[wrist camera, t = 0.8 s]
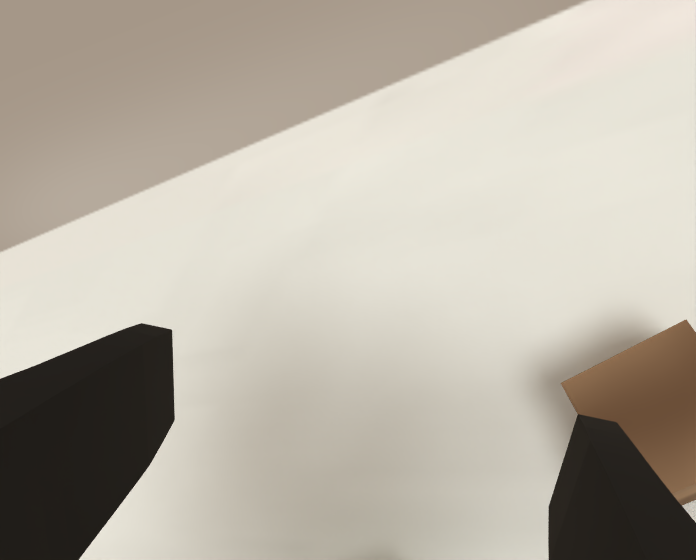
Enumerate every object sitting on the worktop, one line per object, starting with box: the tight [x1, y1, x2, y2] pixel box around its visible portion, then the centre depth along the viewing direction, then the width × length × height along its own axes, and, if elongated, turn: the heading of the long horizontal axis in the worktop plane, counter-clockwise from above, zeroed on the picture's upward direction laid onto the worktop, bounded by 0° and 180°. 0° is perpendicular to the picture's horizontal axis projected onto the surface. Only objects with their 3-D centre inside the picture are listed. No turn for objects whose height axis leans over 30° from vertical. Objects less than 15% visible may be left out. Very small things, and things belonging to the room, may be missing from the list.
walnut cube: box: [561, 320, 696, 506], centre depth 22 cm, size 4×4×4 cm
